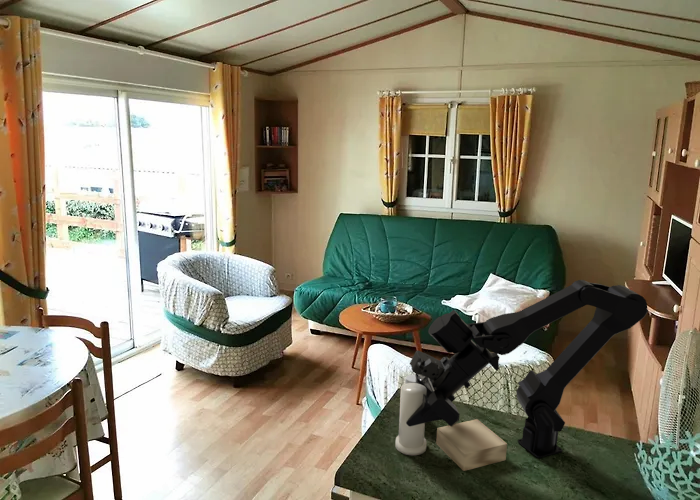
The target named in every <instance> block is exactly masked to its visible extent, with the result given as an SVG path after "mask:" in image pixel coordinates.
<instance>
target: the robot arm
mask: <svg viewBox="0 0 700 500" xmlns="http://www.w3.org/2000/svg"><path fill="white" fill-rule="evenodd" d="M586 306H591V307H595V310H594V313H593V317H592V318H591V320H590V321H589V322H588V323H587V324H586V326H585V327H583V329H581V331H580V332H579V333H578V334H577V335H576V336H575V338H574V339H572V340H571V342H570V343H569V344H568V345H567V346H566V347H565V348H564V349H563V351H562V352H561V353H560V354H559V355H558V356H557V357H556V358H555V359H554V360H553V362H552V363H550V365H549V366H548V367H547V368H546V369H545V370H542V371H541V372H538V373H535V371H533V370H532V369H531V370H530V371H528V372H527V374H526V375H525V377H524V378H522V380H520V381H519V382H517V383H518V385H519V386H518V387H517V389H516V391H515V392H516V393H515V394H516V399H517V401H518V403H519V404H520V407H521V408H522V409H523V411H524V413H525V414H526V416H527V418H525V421H524V426H523V428H522V437H521V438H519V439H517V443H518V444H519V445H521V446H522V447H523V448H524V449H525V450H527V451H528V452H530V453H531V454H532V455H533V456H534V457H536V458H537V459H542V458H545V457H549V456H552V455H556V454H559V453H562V452H563V449H562V448H561V447H560V446H558V437H559V432H561V431H562V430H563V428H564V426H565V425H566V421H565V420H564V419H563V418H562V416H561V415H560V414H559V412H558V411H557V408H558V407H559V405H560V404H561V401H562V398H563V394H564V391H565V389H566V387H567V386H568V385H570V383H571V382H572V380H573V379H574V378H576V377H577V376H578V374H579V373H580V372H581V371H582V370H583V369H584V368H585V367H586V366H587V364H589V363H590V361H591V360H593V358H594V357H595V356H596V355H597V354H598V353H599V351H600V350H602V349H603V347H604V346H605V345H606V344H607V343H608V342H609V341H610V339H612V338H613V337H614V336H615V335H617V334H620V333H622V332H625V331H627V330H630V329H631V328H632V327H634V326H635V325H637V324H638V323H639V322H640V321H642V320H643V319H644V318H645V317H646V316H647V313H648V311H649V309H648V302H647V299H646V298H644V296H642V295H641V294H639V293H637V292H636V291H634V290H632V289H630V288H629V287H626V286H625V285H621V284H617V285H611V286H608V285H605V284H602V283H595V282H589V281H586V280H584V279H578V280H575V281H574V282H572V283H571V284H570V285H569V286H566V287H564V288H562V289H561V290H559V291H557V292H554V293H553V294H551V295H549V296H547V297H545V298H543V299H542V300H539V301H538V302H535V303H534V304H532V305H530V306H528V307H525V308H524V309H522V310H520V311H516V312H510V313H508V312H507V313H503V314H500V315H497V316H494V317H491V318H488V319H487V320H486V321H483V322H482V321H481V322H474V323H473V322H471V323H466V322H465V320H463V319H462V318H461V317H460V315H459V314H458V312H457V311H456V310H452V311H450V312H449V313H448V312H447V313H445V314H442V315H441V316H438V317H437V318H435V320H434V321H433V322H432V323H431V324H430V326H429V328H428V334H429V335H430V336H431V337H432V339H434V340H435V341H436V343H438V344H439V345H440V346H441V348H443V349H444V351H446V352H447V353H448V354H451V353H452V354H454V355H452V356H451V357H450V358H449V357H448V356H443V357H442V358H441V359H440V360H439V359H437V358H435V357H434V356H431V355H430V354H428V353H425V352H424V351H423V352H422V351H421V350H415V352H414V355H413V356H412V358H411V360H410V362H409V365H410V367H411V370H412V372H413V373H414V374H415V376H416V383H418V384H421V385H423V386H425V387H426V389H427V393H426V395H425V394H423V403H422V405H421V406H420V407H419V408H418V409H417V410H416V411H415V412H414V413H413V414H412V416H411V417H410V418H409V419H408V420H407V422H406V424H407V425H408V426H414V425H418V424H422V423H425V424H426V423H429V422H436V421H441V420H442V421H444V422H446V424H448V425H450V426H451V427H452V426H453V425H455V424H457V423H459V422H460V412H459V410H458V408H457V406H456V405H455V404H454V402H453V401H455V400H456V397H455V394H456V393H457V392H459V391H460V389H462V388H463V387H465V388H466V389H468V388H470V387H471V383H470V381H471V380H472V379H473V378H474V377H476V375H478V374H479V373H480V372H481V371H482V370H484V369H485V368H486V366H488V365H490V366H491V367H492V368H493V369H494V370H495V371H498V370H500V366H499V365H500V364H499V360H500V356H506V355H508V354H510V353H512V352H513V351H515V350H516V349H518V347H520V346H522V345H523V344H524V343H525V342H526V340H527V339H528V338H529V336H531V335H532V334H533V333H534V332H536V331H538V330H540V329H542V328H544V327H546V326H548V325H550V324H552V323H553V322H556V321H558V320H559V319H561V318H563V317H566V316H568V315H569V314H572V313H573V312H575V311H577V310H579V309H581V308H583V307H586ZM499 355H500V356H499Z"/></svg>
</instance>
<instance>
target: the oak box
mask: <svg viewBox="0 0 700 500" xmlns="http://www.w3.org/2000/svg"><path fill="white" fill-rule="evenodd" d="M436 429H437V430H436V440H435V441H436V445H437V446H438V447H439V448H440V450H442V451H443V452H444V453H445V454H446V456H448V457H449V458H450V459H451V460H452V461H453V462H454V463H455V465H457V466H458V467H459V468H460V469H461V470H462V471H463V472H464V471H465V472H466V471H469V470H473V469H476V468H481V467H484V466H488V465H491V464H496V463H500V462H503V461H506V459H507V450H508V448H507V447H508V443H507V442H506V441H504V440H503V439H502V438H501V437H500V436H499V435H497V434H496V433H495V432H494V431H492V430H491V429H490V428H489V427H488V426H486V425H485V424H484V423H482V421H480V420H479V419H478V418H475V419H471V420H467V421H463V422H457V423H456V424H455V425H453V426H452V427H451V426H450V425H449V424H448V425H446V426H445V425H444V426H441V427H437V428H436Z"/></svg>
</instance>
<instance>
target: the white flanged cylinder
mask: <svg viewBox="0 0 700 500" xmlns="http://www.w3.org/2000/svg"><path fill="white" fill-rule="evenodd" d="M426 393H427V389H426V387H425V386H423V385H421V384H418V383H406V384H405V383H403V384H402V385H401V386H400V396H399V397H400V400H399V402H400V403H399V421H398V435H397V436H396V437H395V449H396V450H397V451H398V452H399V453H402V454H403V455H406V456H418V455H422V454H424V453H425V452H426V450H427V442H428V441H427V439H426V438H425V428H426V427H425V425H426V423H422V424H418V425H414V426H408V425H407V424H406V422H407V420H408V419H409V418H410V417H411V416H412V414H413V413H414V412H415V411H416V410H417V409H418V408H419V407H420V406H421V405H422V403H423V394H425V395H426Z"/></svg>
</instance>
